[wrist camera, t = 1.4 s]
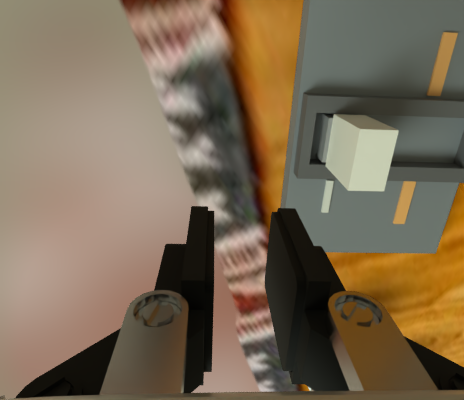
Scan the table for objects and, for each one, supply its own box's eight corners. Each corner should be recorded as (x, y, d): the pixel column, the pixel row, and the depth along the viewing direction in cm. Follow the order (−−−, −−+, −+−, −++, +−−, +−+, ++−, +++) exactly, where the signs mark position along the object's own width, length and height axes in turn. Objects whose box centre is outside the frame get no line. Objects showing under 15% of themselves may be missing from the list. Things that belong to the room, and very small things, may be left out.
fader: (323, 110, 27) (355, 128, 21) (361, 111, 27) (403, 130, 21) (315, 159, 28) (343, 190, 22) (351, 160, 28) (388, 191, 22)
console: (306, -23, 25) (319, -33, 22) (503, -11, 26) (544, -19, 23) (276, 240, 34) (283, 260, 31) (423, 242, 35) (445, 262, 31)
